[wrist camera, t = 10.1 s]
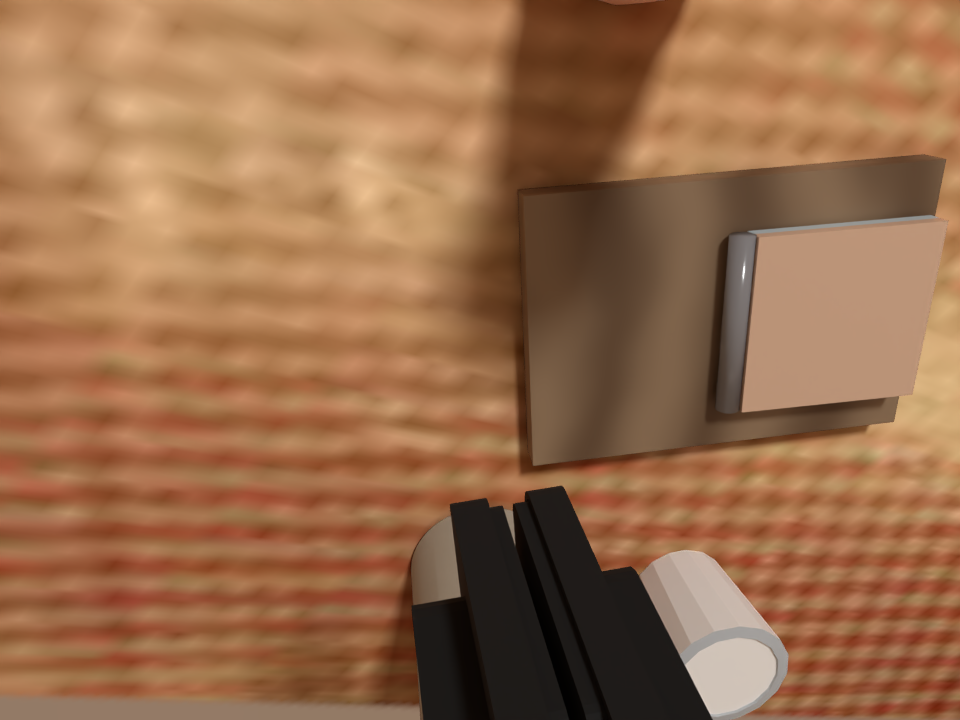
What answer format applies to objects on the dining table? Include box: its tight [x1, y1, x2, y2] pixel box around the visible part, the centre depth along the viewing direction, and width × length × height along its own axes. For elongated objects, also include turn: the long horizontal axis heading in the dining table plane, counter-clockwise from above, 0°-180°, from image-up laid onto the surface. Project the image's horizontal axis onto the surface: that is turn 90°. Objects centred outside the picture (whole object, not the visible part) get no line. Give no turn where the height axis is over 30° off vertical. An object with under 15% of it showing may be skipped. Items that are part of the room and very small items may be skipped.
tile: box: [715, 215, 948, 414], centre depth 36 cm, size 10×9×1 cm
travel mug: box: [411, 507, 515, 720], centre depth 34 cm, size 8×8×18 cm
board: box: [518, 154, 946, 466], centre depth 37 cm, size 20×14×2 cm
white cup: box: [639, 550, 788, 720], centre depth 42 cm, size 7×7×7 cm
